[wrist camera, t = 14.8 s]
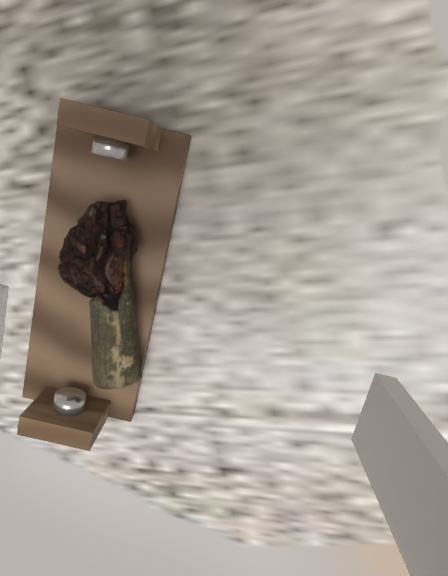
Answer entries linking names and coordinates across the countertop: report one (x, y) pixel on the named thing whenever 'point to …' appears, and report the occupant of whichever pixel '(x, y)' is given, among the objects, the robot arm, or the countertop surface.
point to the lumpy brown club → (106, 289)
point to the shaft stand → (69, 302)
